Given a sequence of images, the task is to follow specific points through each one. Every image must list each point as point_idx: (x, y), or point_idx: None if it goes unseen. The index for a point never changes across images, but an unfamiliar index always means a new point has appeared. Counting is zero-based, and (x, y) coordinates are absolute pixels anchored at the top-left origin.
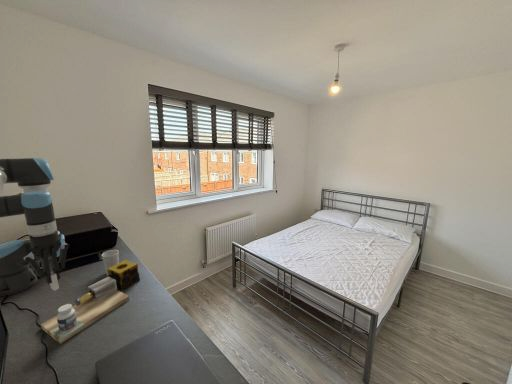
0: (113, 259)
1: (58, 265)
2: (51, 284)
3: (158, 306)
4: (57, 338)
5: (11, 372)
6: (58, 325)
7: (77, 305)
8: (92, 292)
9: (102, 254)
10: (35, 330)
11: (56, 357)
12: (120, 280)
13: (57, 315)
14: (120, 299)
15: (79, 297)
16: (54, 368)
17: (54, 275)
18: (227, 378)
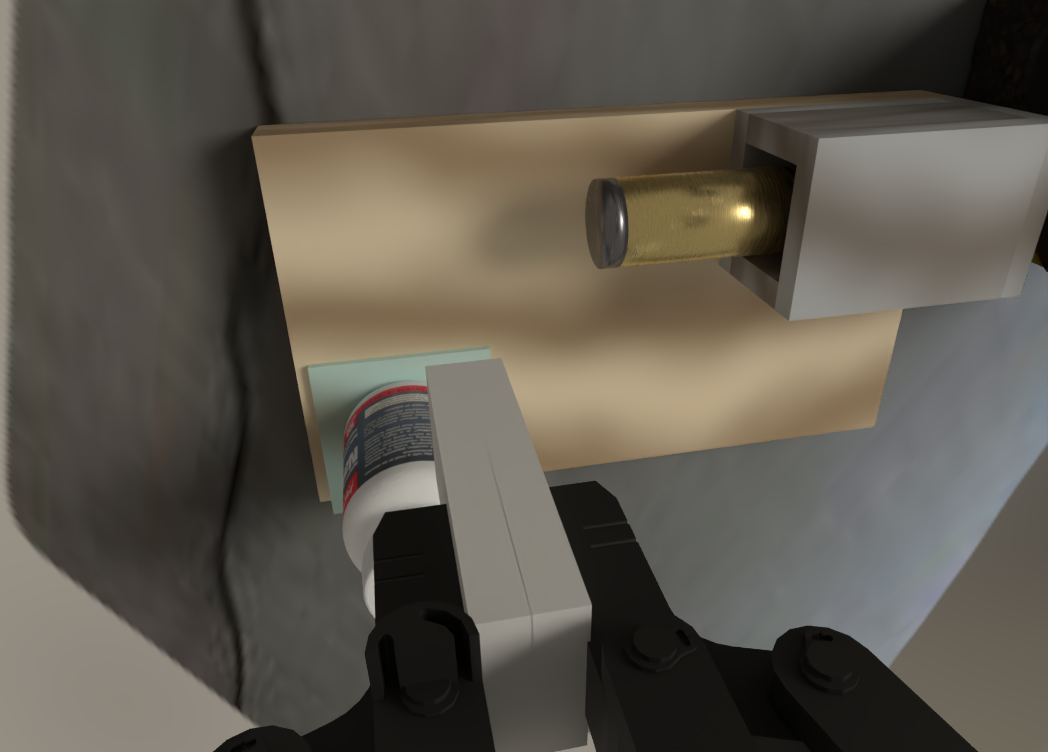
0: None
1: (815, 736)
2: (441, 495)
3: (845, 623)
4: (314, 465)
5: (21, 483)
6: (343, 481)
7: (586, 222)
8: (772, 242)
9: None
10: (208, 98)
11: (270, 569)
12: (1040, 248)
13: (356, 519)
14: (814, 418)
15: (651, 226)
16: (241, 638)
17: (540, 731)
18: None
